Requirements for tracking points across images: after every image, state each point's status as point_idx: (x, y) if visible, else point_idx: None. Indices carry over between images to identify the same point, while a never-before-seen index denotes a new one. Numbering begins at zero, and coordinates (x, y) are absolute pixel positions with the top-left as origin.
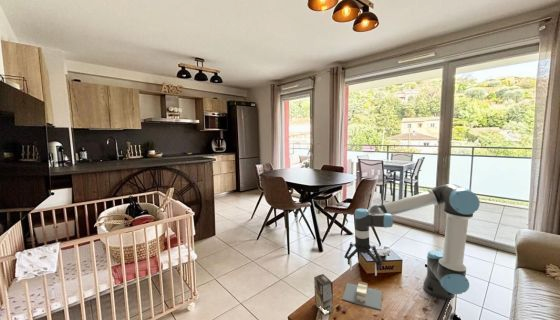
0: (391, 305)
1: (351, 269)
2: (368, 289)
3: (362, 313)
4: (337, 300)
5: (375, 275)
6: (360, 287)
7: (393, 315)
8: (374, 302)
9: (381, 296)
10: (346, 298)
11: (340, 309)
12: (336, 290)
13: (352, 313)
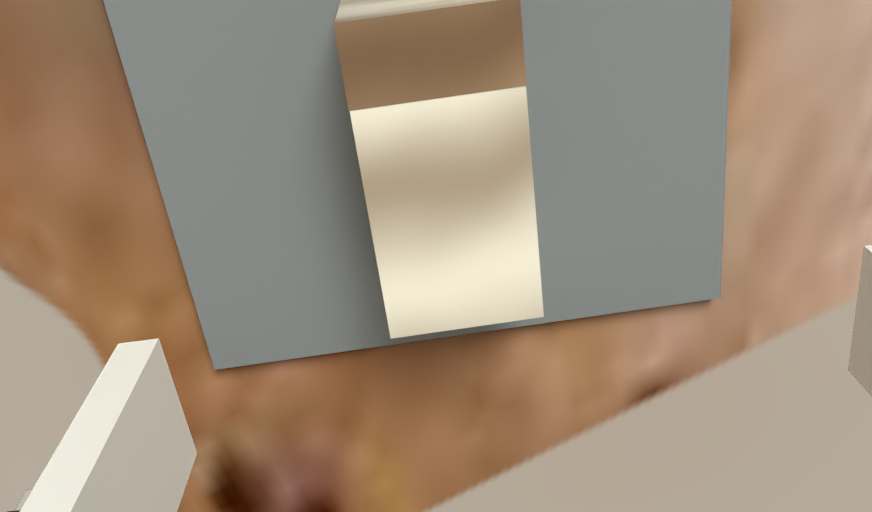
0: (857, 122)
1: (176, 416)
2: None
3: (515, 438)
4: None
5: (863, 374)
6: (420, 203)
7: None
8: (634, 214)
9: (729, 14)
10: (260, 333)
11: (272, 503)
12: (38, 218)
13: (413, 490)
